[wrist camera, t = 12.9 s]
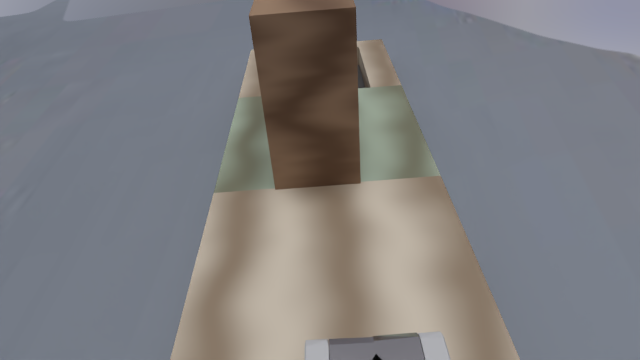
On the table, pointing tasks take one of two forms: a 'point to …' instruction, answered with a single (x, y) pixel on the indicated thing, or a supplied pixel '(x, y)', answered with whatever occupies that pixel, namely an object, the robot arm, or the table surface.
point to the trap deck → (336, 244)
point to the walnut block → (309, 89)
